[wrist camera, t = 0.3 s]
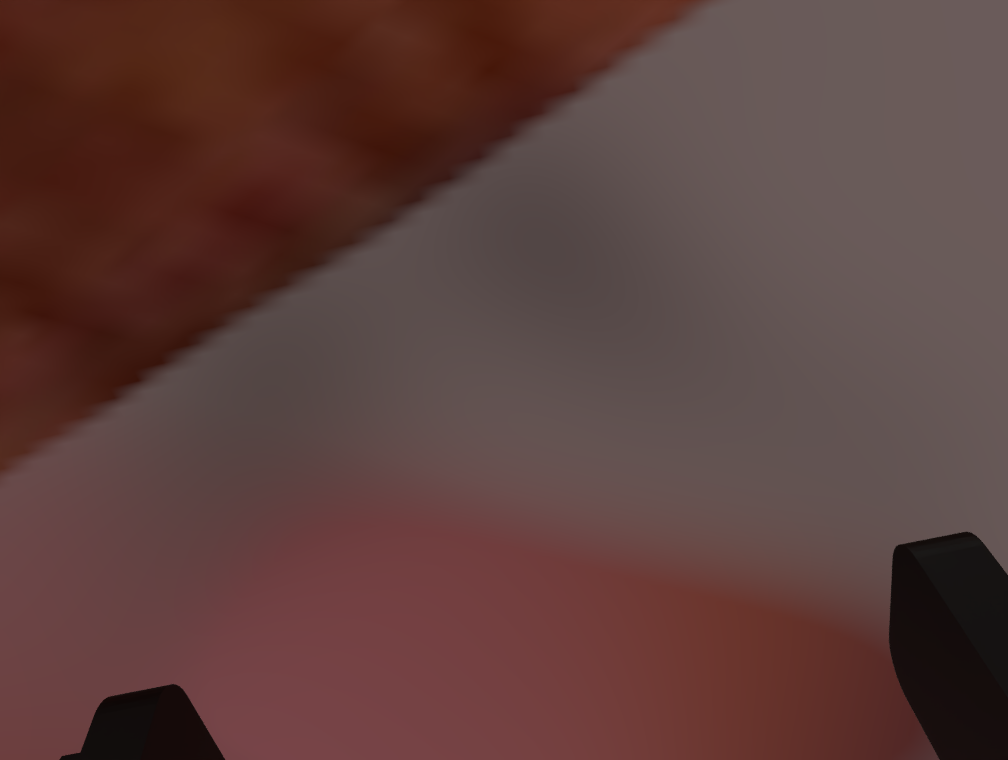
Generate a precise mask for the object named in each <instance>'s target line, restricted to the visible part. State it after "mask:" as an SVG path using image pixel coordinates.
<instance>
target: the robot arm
mask: <svg viewBox="0 0 1008 760" xmlns="http://www.w3.org/2000/svg"><path fill="white" fill-rule="evenodd" d="M889 644H890V652H891V657H892V661H893V665H894V668H895V672H896V675H897V678H898V680H899V683H900V686H901V688H902V690H903V692H904V695H905V697H906V698H907V700H908V702H909V704H910V706H911V708H912V710H913V711H914V713H915V715H916V717H917V719H918V721H919V723H920V724H921V726H922V728H923V730H924V732H925V734H926V735H927V737H928V739H929V741H930V742H931V744H932V746H933V748H934V750H935V752H936V754H937V756H938V758H939V759H940V760H1008V575H1007V574H1006V572H1005V571H1004V570H1003V568H1002V567H1001V566H1000V564H999V563H998V562H997V560H996V559H995V558H994V556H993V555H992V554H991V553H990V551H989V550H988V549H987V547H986V546H985V545H984V544H983V542H982V541H981V540H980V539H979V538H978V537H977V536H975V535H974V534H972V533H970V532H962V533H957V534H952V535H947V536H942V537H936V538H931V539H927V540H921V541H916V542H911V543H906V544H901V545H898V546H896V548H895V549H894V553H893V561H892V585H891V604H890V625H889ZM60 760H225V758H224V757H223V755H222V753H221V752H220V750H219V748H218V747H217V745H216V743H215V742H214V740H213V738H212V737H211V735H210V733H209V732H208V730H207V728H206V726H205V725H204V723H203V721H202V720H201V718H200V716H199V715H198V713H197V711H196V710H195V708H194V706H193V705H192V703H191V701H190V700H189V698H188V696H187V695H186V693H185V692H184V690H183V689H182V688H181V687H180V686H178V685H174V684H171V685H167V686H161V687H156V688H151V689H146V690H141V691H136V692H130V693H125V694H120V695H115V696H111V697H108V698H106V699H104V700H103V701H102V703H101V704H100V705H99V707H98V708H97V710H96V712H95V715H94V717H93V720H92V723H91V726H90V728H89V731H88V734H87V737H86V739H85V742H84V745H83V747H82V750H81V753H76V754H71V755H65V756H62V757H61V758H60Z"/></svg>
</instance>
